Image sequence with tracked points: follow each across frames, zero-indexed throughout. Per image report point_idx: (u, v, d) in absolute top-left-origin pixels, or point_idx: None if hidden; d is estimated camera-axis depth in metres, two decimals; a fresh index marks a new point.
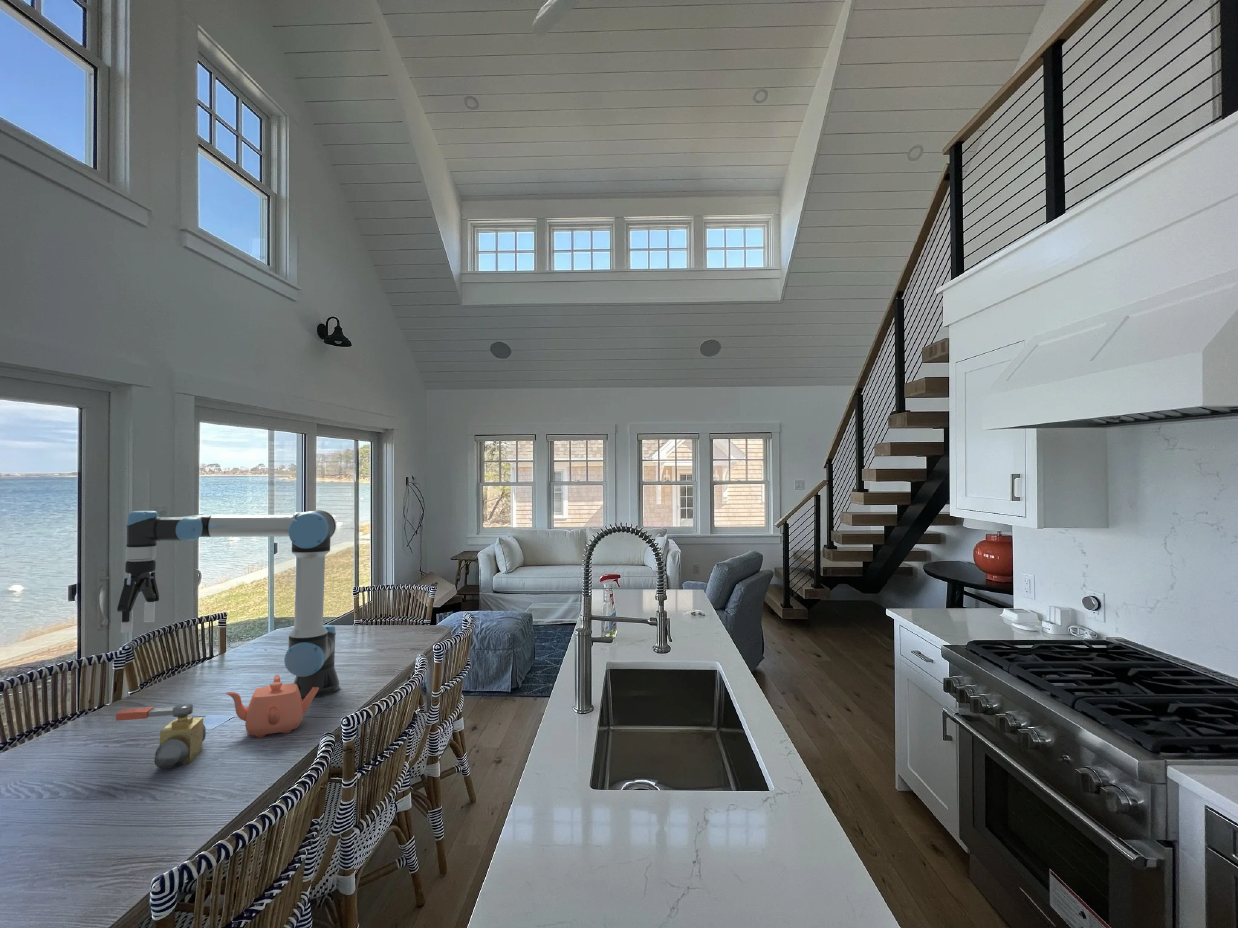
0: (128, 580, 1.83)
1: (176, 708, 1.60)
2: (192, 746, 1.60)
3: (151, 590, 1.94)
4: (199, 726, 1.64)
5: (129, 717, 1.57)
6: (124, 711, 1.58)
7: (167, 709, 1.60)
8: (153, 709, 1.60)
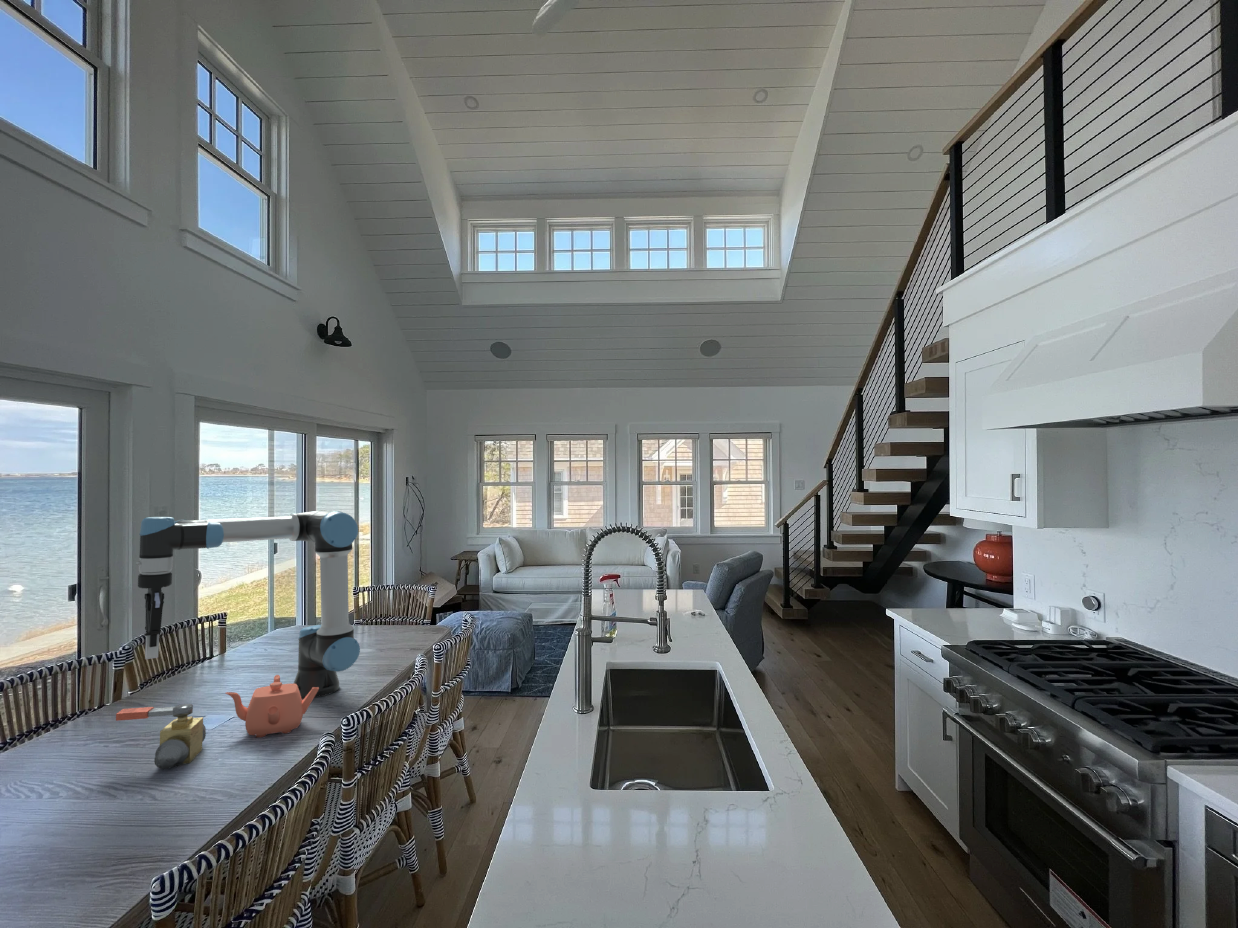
0: (157, 604, 1.62)
1: (176, 708, 1.60)
2: (192, 746, 1.60)
3: None
4: (199, 726, 1.64)
5: (129, 717, 1.57)
6: (124, 711, 1.58)
7: (167, 709, 1.60)
8: (153, 709, 1.60)
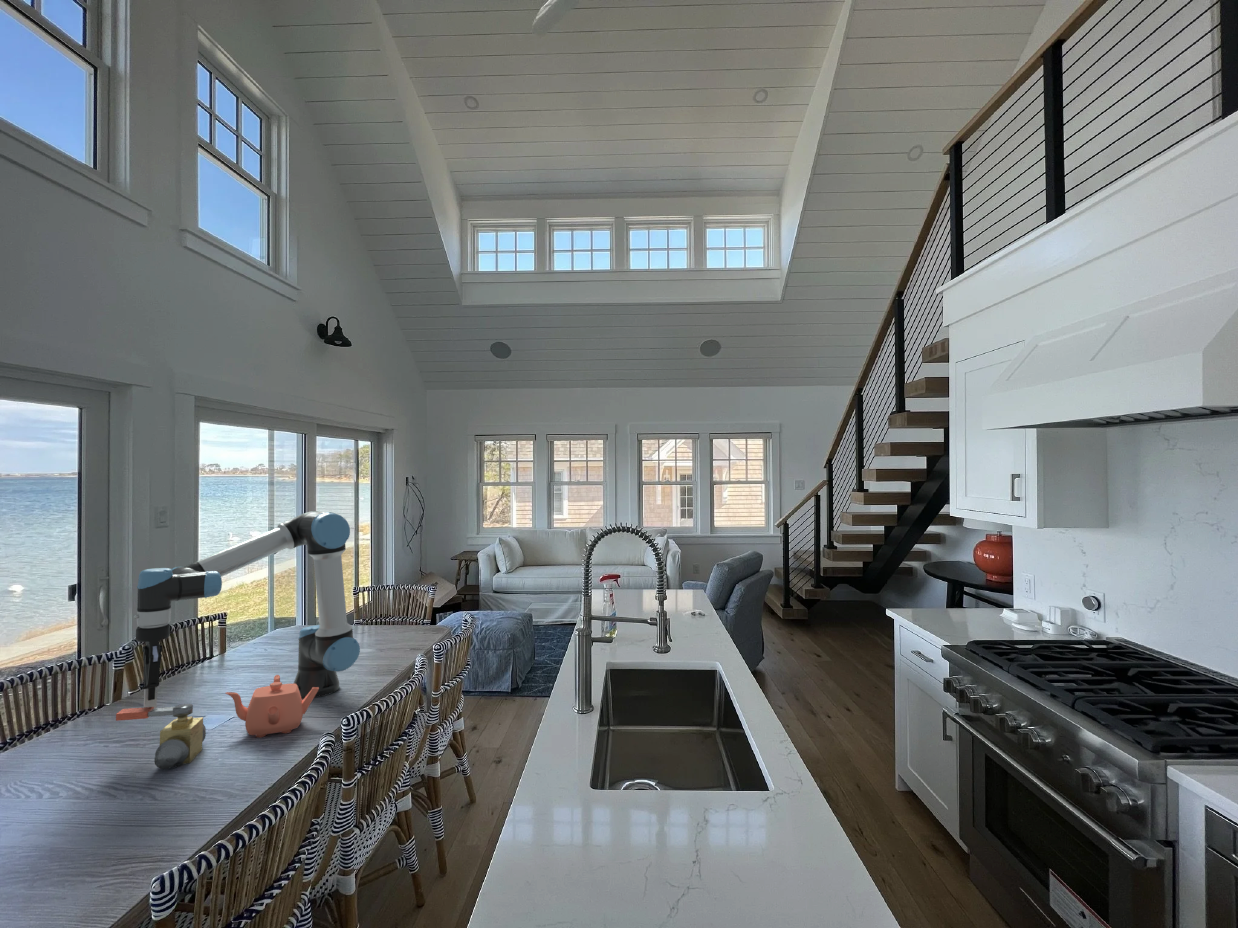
0: (155, 658, 1.62)
1: (176, 708, 1.60)
2: (192, 746, 1.60)
3: None
4: (199, 726, 1.64)
5: (129, 717, 1.57)
6: (124, 711, 1.58)
7: (167, 709, 1.60)
8: (153, 709, 1.60)
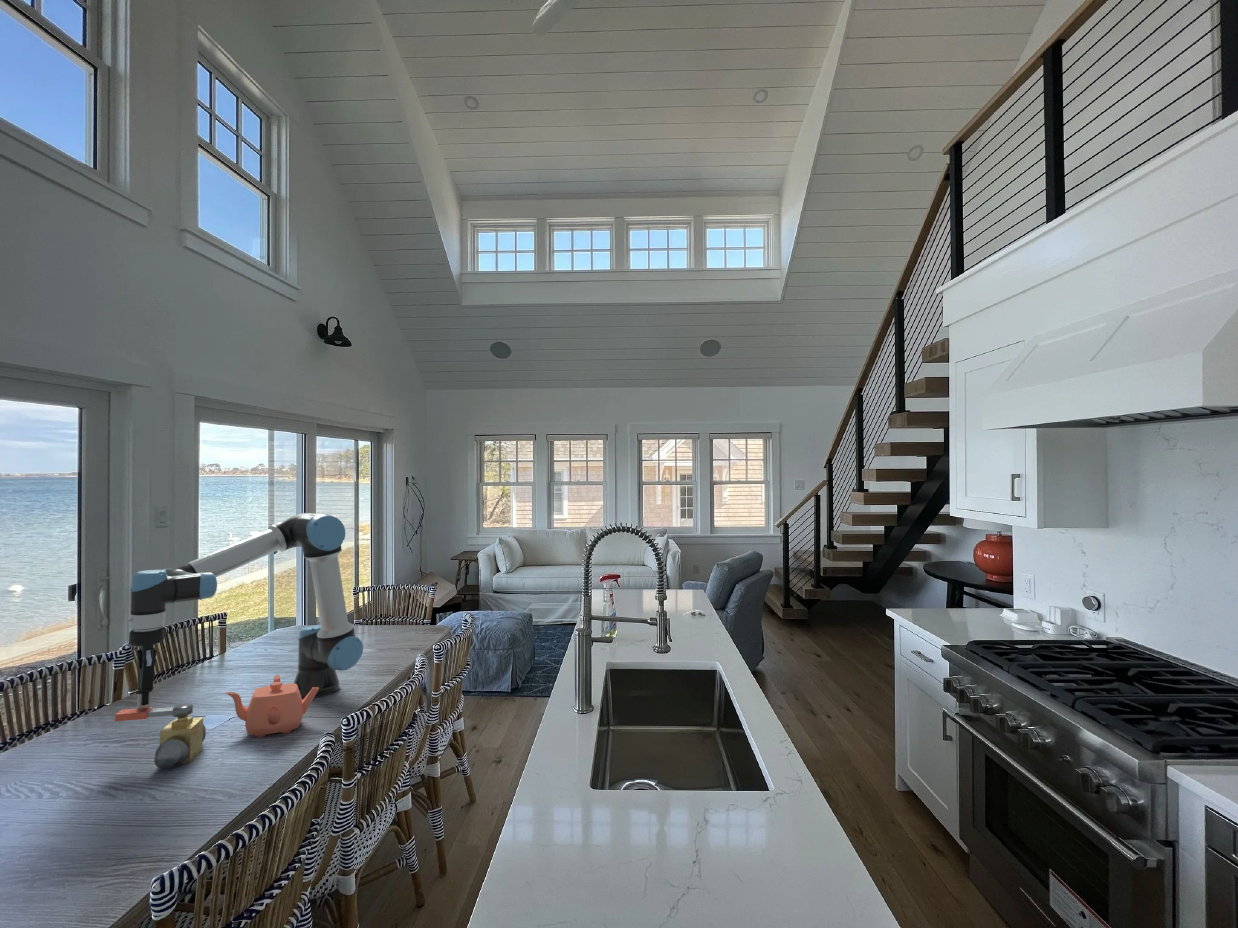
0: (148, 663, 1.57)
1: (176, 708, 1.60)
2: (192, 746, 1.60)
3: None
4: (199, 726, 1.64)
5: (128, 718, 1.57)
6: (123, 712, 1.57)
7: (167, 709, 1.60)
8: (152, 709, 1.60)
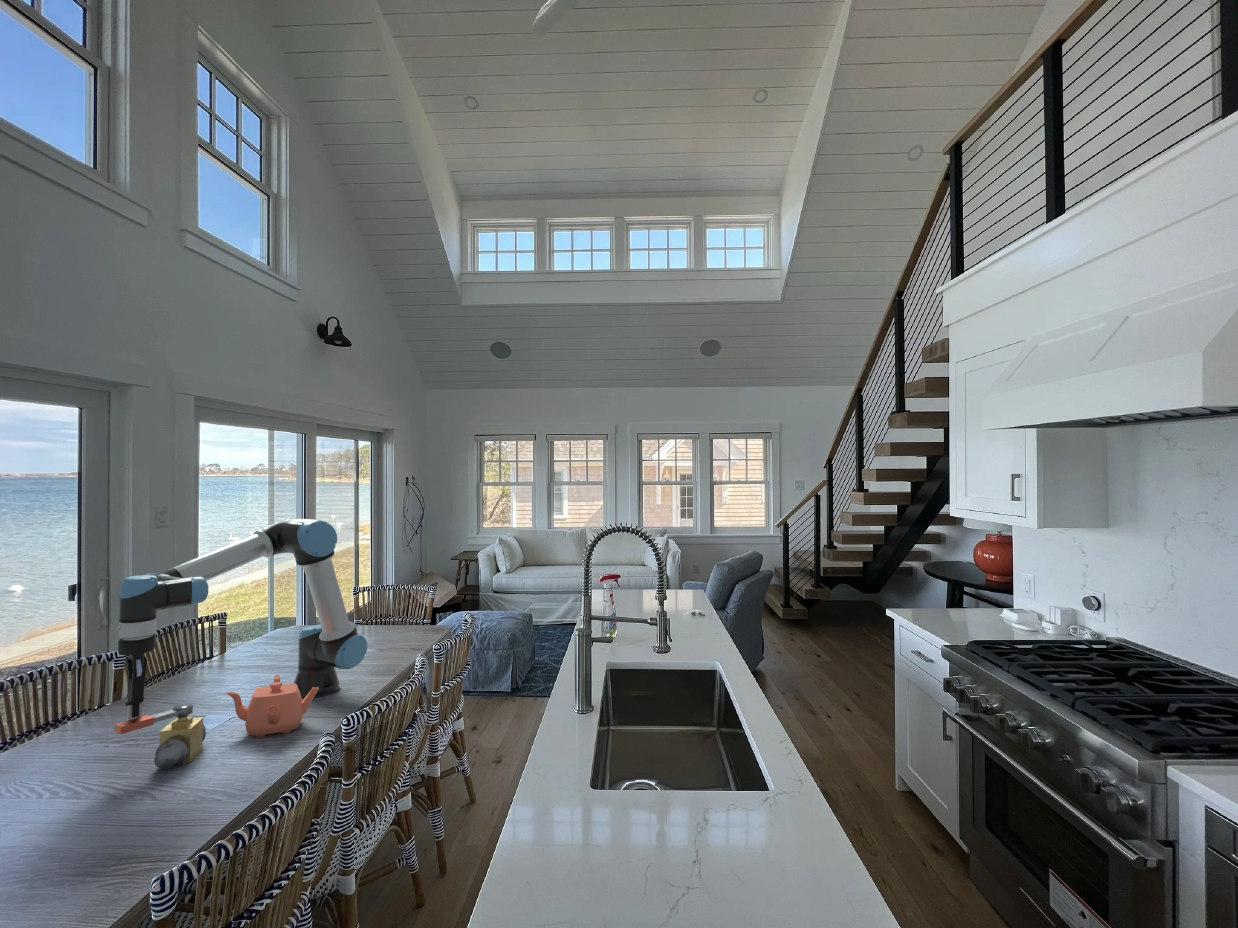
0: (139, 673, 1.50)
1: (180, 708, 1.60)
2: (192, 746, 1.60)
3: None
4: (199, 726, 1.64)
5: (135, 727, 1.51)
6: (124, 724, 1.50)
7: (168, 712, 1.58)
8: (151, 716, 1.56)
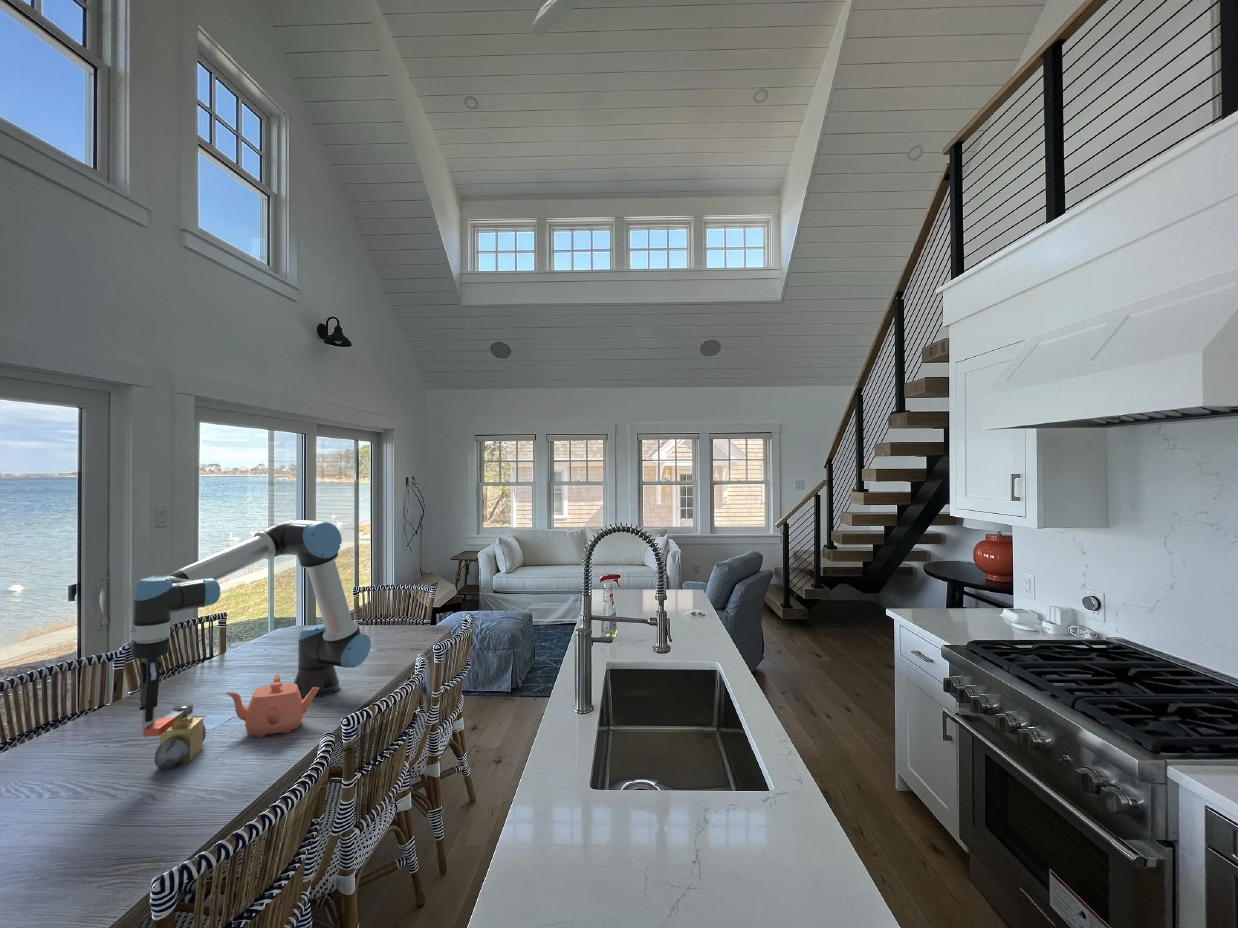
0: (153, 676, 1.47)
1: (184, 708, 1.61)
2: (192, 746, 1.60)
3: None
4: (199, 726, 1.64)
5: (165, 728, 1.51)
6: (156, 726, 1.49)
7: (177, 712, 1.58)
8: (166, 718, 1.55)
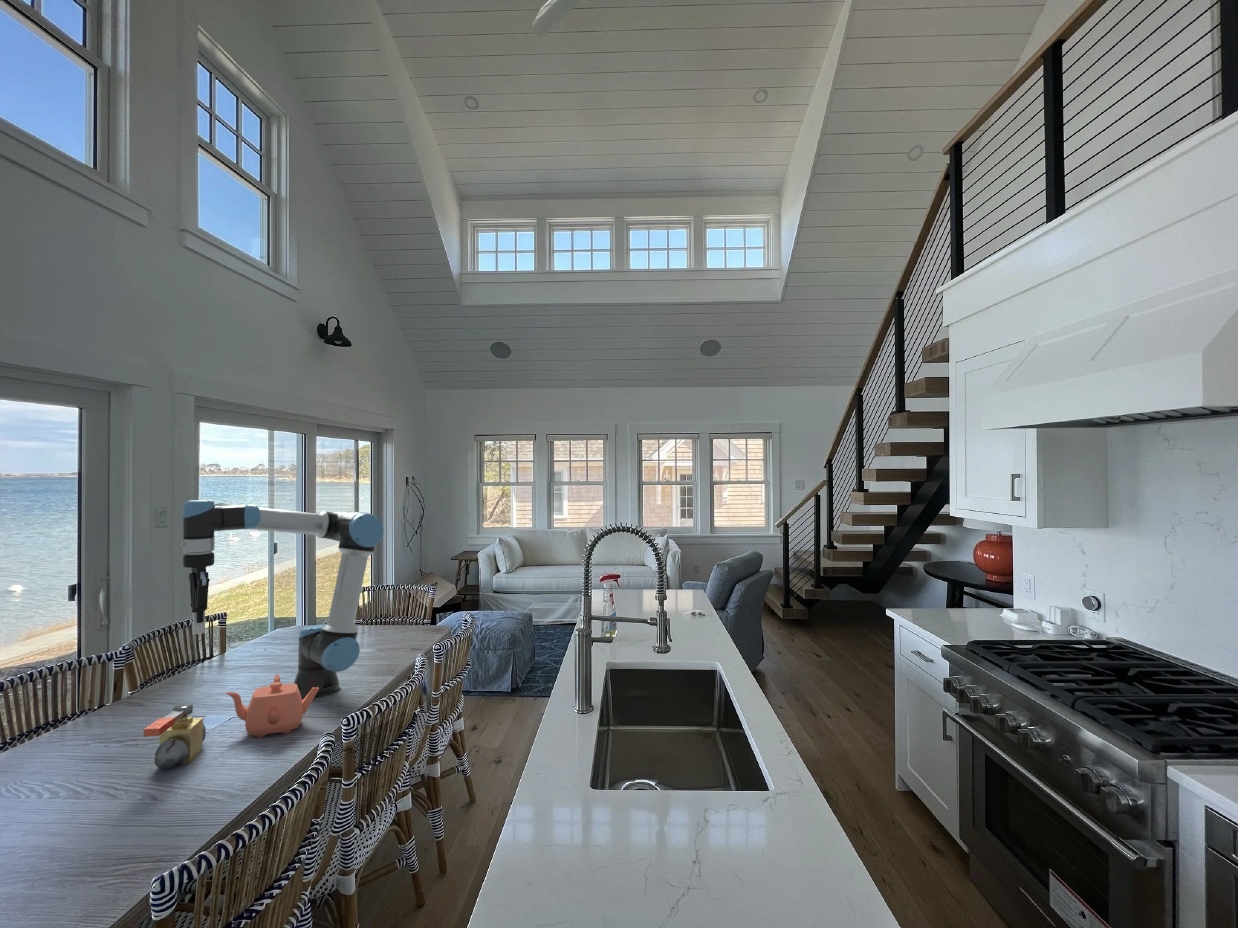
0: (203, 582, 1.71)
1: (184, 708, 1.61)
2: (192, 746, 1.60)
3: None
4: (199, 726, 1.64)
5: (165, 728, 1.51)
6: (156, 726, 1.49)
7: (177, 712, 1.58)
8: (166, 718, 1.55)
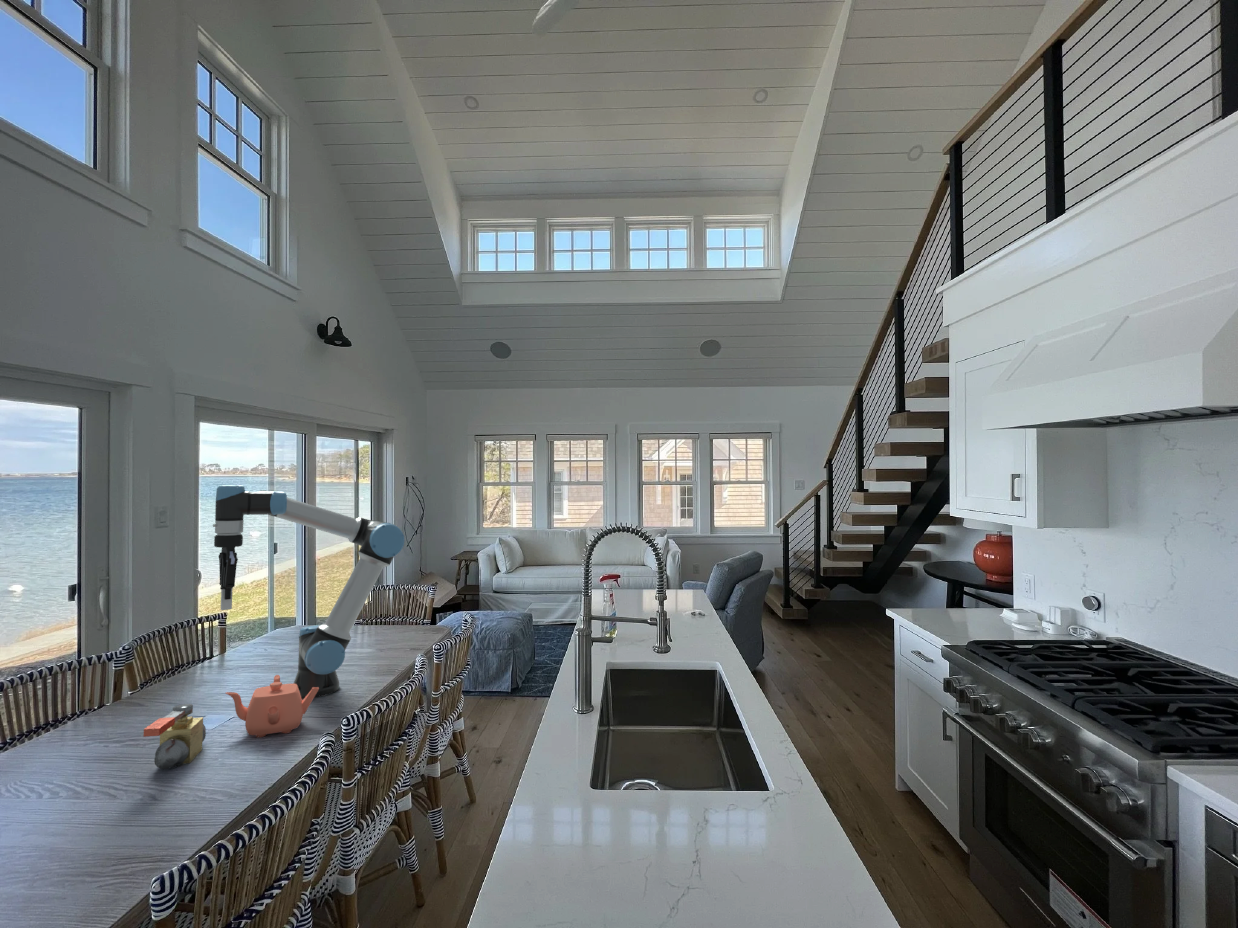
0: (232, 561, 1.84)
1: (184, 708, 1.61)
2: (192, 746, 1.60)
3: None
4: (199, 726, 1.64)
5: (165, 728, 1.51)
6: (156, 726, 1.49)
7: (177, 712, 1.58)
8: (166, 718, 1.55)
